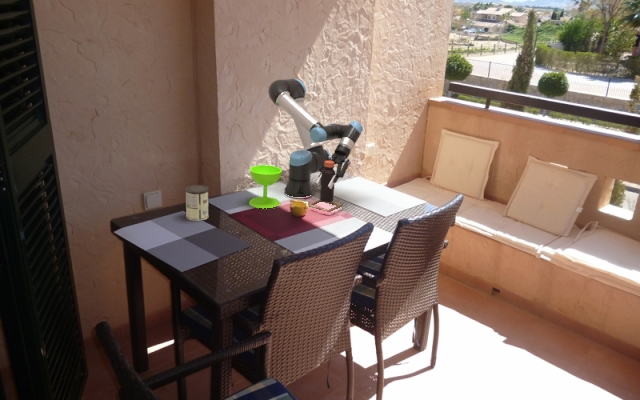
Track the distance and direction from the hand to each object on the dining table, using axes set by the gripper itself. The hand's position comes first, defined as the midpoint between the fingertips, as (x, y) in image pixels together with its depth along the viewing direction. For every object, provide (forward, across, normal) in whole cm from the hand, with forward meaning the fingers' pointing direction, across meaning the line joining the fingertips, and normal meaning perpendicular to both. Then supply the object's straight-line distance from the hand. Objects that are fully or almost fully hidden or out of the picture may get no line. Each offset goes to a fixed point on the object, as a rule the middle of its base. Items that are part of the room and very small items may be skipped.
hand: (323, 185), depth 253 cm
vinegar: (+4, 0, -9) cm, 9 cm away
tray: (+7, +1, -12) cm, 14 cm away
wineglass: (+18, +27, -1) cm, 33 cm away
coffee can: (+44, +37, +25) cm, 63 cm away
